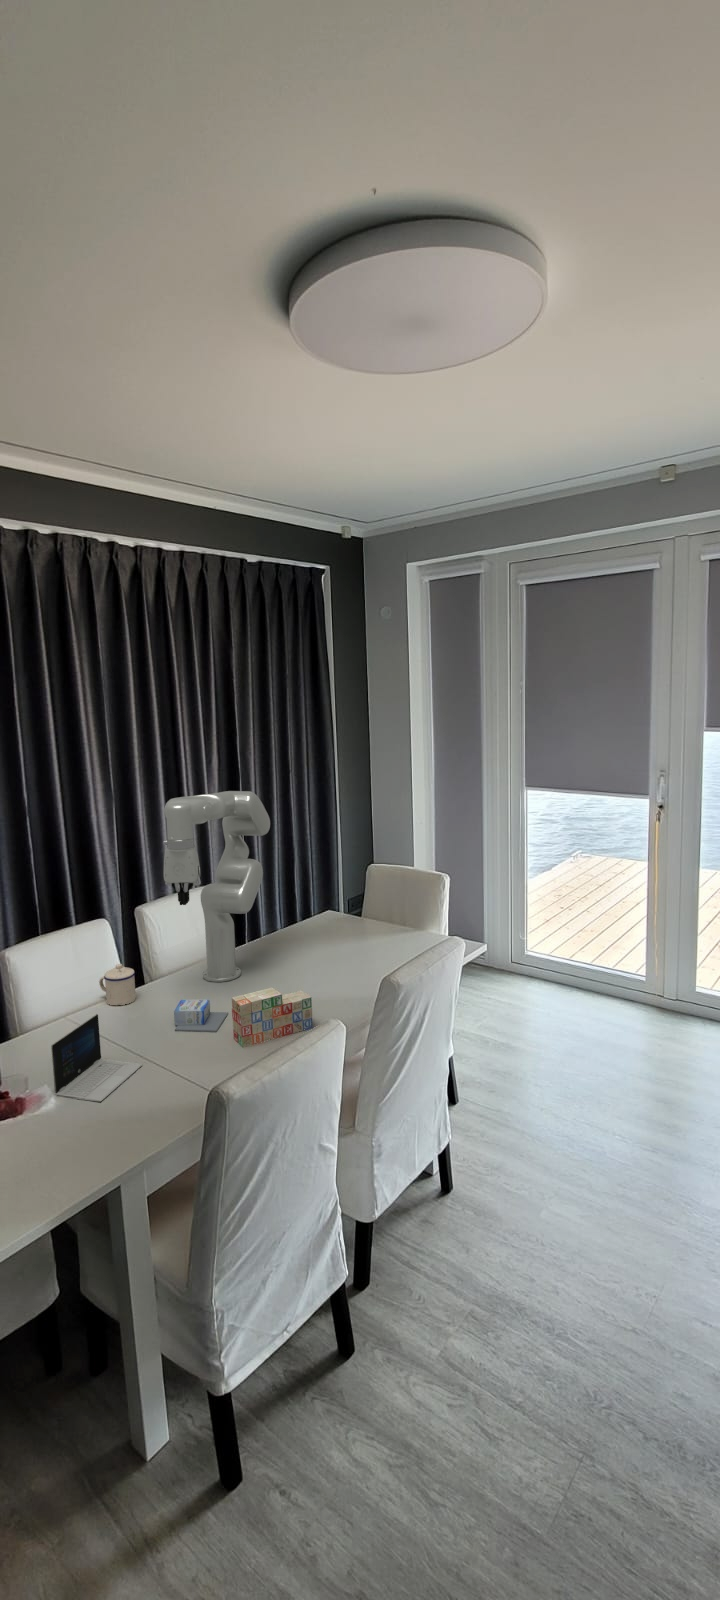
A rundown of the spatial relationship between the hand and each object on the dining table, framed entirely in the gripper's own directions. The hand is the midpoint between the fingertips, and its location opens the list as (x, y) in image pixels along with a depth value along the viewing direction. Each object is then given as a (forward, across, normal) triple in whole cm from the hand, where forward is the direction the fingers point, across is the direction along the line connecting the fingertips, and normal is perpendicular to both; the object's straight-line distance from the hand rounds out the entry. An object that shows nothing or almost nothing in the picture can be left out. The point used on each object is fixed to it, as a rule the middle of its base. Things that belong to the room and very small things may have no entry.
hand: (184, 903), depth 224 cm
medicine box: (+28, +1, -14) cm, 32 cm away
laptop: (+32, -7, -47) cm, 57 cm away
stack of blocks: (+32, +31, -20) cm, 48 cm away
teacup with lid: (+31, -23, 0) cm, 39 cm away
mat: (+31, +8, -14) cm, 35 cm away
